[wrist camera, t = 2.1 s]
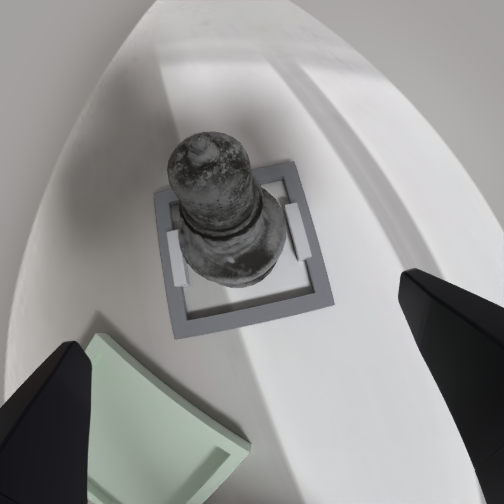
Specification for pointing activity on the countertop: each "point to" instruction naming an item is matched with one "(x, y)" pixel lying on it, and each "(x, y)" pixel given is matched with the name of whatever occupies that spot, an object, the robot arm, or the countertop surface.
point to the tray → (150, 437)
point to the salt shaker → (224, 212)
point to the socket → (321, 298)
